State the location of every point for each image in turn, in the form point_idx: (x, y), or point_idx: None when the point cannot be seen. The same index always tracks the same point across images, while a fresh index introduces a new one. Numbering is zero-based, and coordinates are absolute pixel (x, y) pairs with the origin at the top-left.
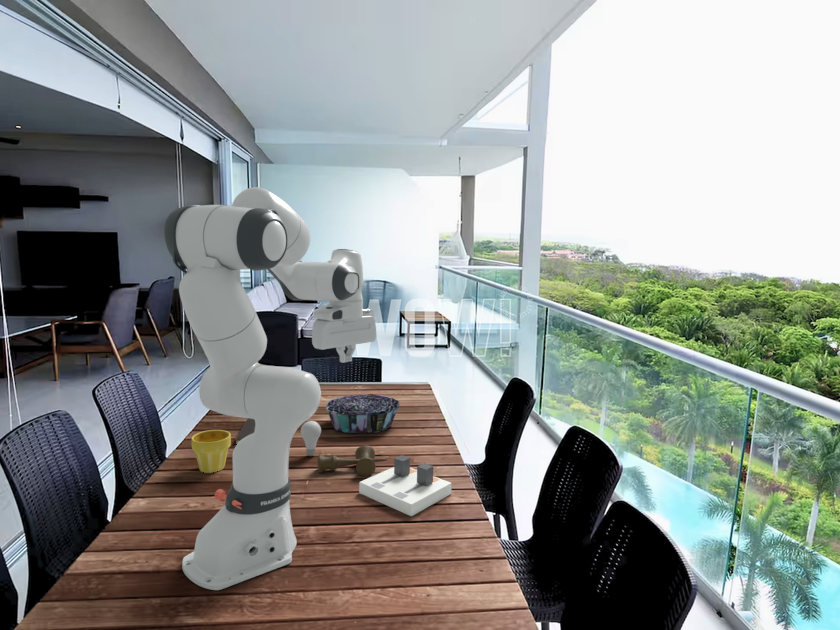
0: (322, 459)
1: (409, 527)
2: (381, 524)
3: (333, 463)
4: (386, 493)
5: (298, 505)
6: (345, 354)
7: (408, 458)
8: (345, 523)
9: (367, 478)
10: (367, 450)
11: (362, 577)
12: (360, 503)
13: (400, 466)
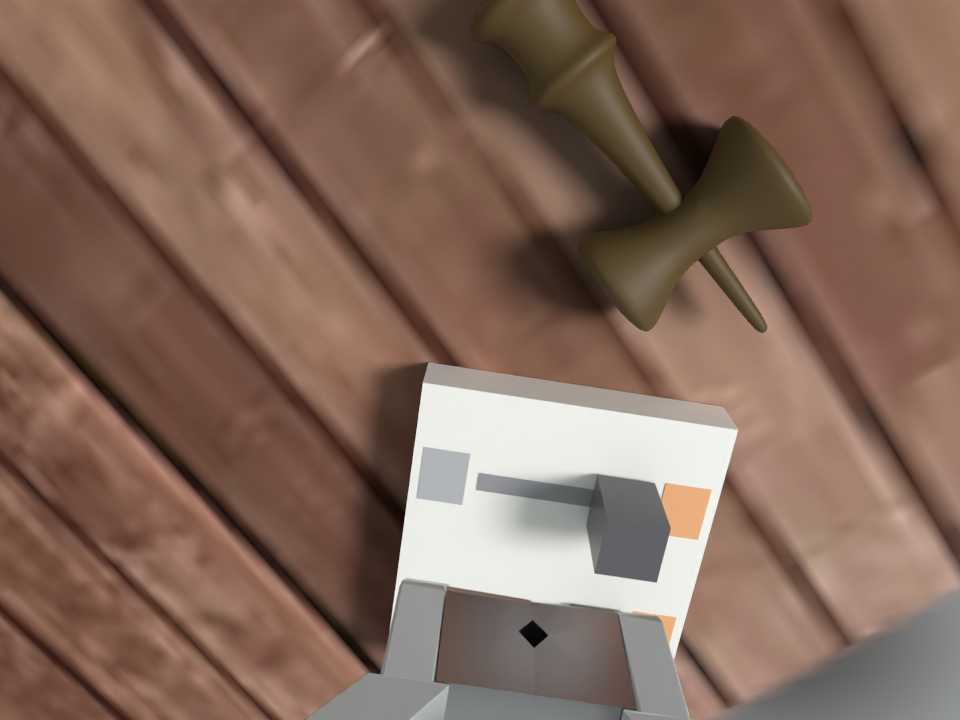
0: (505, 27)
1: (321, 666)
2: (273, 581)
3: (533, 102)
4: (402, 547)
5: (155, 205)
6: (609, 703)
7: (647, 578)
8: (187, 473)
9: (480, 391)
10: (755, 213)
11: (3, 689)
12: (352, 425)
13: (593, 541)
